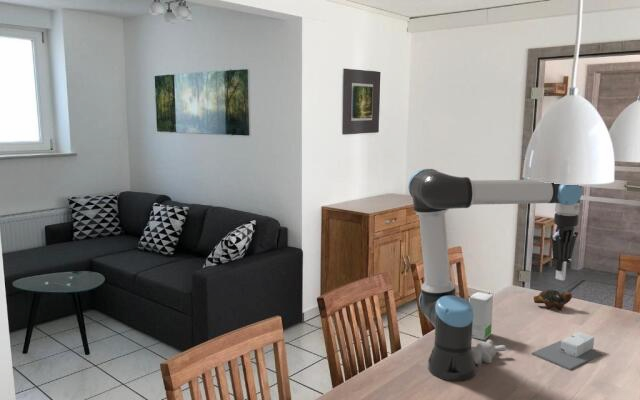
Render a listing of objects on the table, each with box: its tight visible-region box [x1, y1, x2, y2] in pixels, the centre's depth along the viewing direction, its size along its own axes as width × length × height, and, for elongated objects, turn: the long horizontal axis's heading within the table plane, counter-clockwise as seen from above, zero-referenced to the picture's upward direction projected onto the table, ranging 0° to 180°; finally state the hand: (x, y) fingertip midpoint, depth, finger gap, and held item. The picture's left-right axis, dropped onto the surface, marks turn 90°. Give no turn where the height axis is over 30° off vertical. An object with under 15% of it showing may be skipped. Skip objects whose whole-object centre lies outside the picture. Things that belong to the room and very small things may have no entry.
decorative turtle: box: [532, 289, 573, 312], centre depth 230 cm, size 10×15×8 cm, turn 77°
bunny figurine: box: [471, 339, 507, 366], centre depth 183 cm, size 10×5×15 cm
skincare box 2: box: [560, 331, 595, 357], centre depth 188 cm, size 6×4×12 cm
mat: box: [531, 338, 603, 371], centre depth 186 cm, size 20×14×1 cm
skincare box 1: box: [469, 291, 494, 341], centre depth 201 cm, size 8×7×16 cm
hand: (560, 279), depth 188 cm, fingers closed
